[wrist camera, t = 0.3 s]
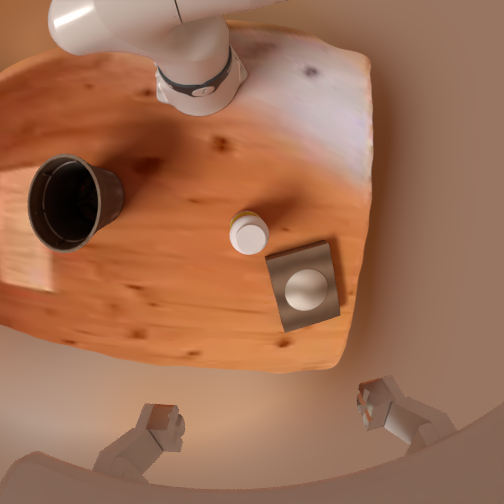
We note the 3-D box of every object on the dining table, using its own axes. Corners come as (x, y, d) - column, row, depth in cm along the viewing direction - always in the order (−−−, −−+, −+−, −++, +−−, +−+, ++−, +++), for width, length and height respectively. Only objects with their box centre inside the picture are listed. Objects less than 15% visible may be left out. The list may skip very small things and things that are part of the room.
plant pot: (146, 174, 51) (114, 172, 35) (120, 246, 54) (85, 268, 38) (85, 150, 48) (43, 143, 33) (63, 218, 51) (20, 231, 36)
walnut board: (264, 256, 57) (266, 260, 54) (323, 240, 57) (329, 243, 54) (282, 326, 61) (285, 333, 58) (336, 309, 61) (340, 315, 58)
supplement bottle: (222, 223, 55) (220, 235, 42) (249, 203, 54) (255, 208, 41) (243, 249, 56) (246, 268, 44) (269, 229, 56) (280, 243, 43)
